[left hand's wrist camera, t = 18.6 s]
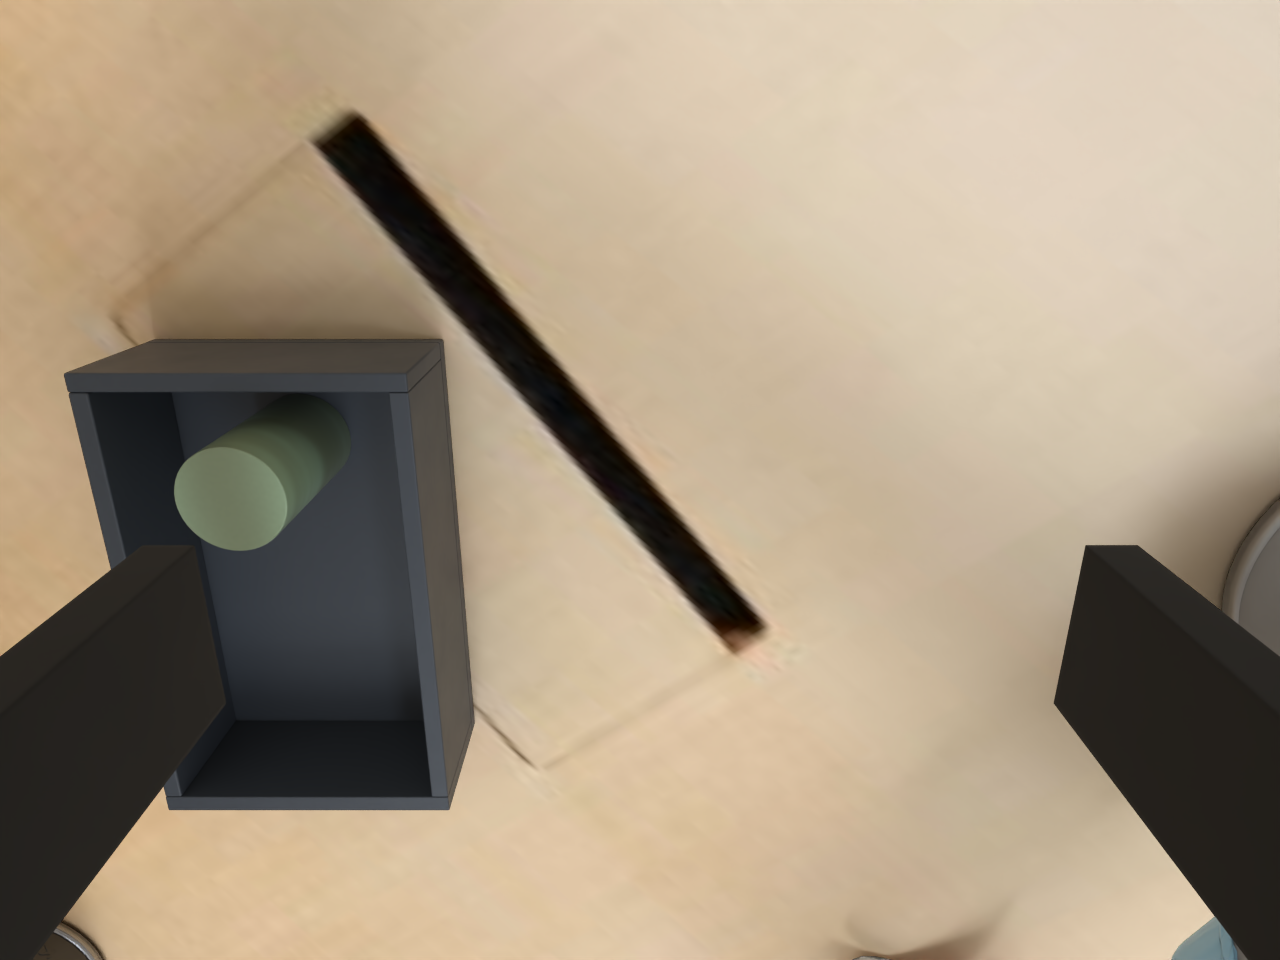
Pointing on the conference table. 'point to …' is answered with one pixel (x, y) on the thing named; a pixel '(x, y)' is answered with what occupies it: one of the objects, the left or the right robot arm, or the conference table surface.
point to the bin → (304, 569)
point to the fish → (870, 958)
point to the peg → (262, 472)
